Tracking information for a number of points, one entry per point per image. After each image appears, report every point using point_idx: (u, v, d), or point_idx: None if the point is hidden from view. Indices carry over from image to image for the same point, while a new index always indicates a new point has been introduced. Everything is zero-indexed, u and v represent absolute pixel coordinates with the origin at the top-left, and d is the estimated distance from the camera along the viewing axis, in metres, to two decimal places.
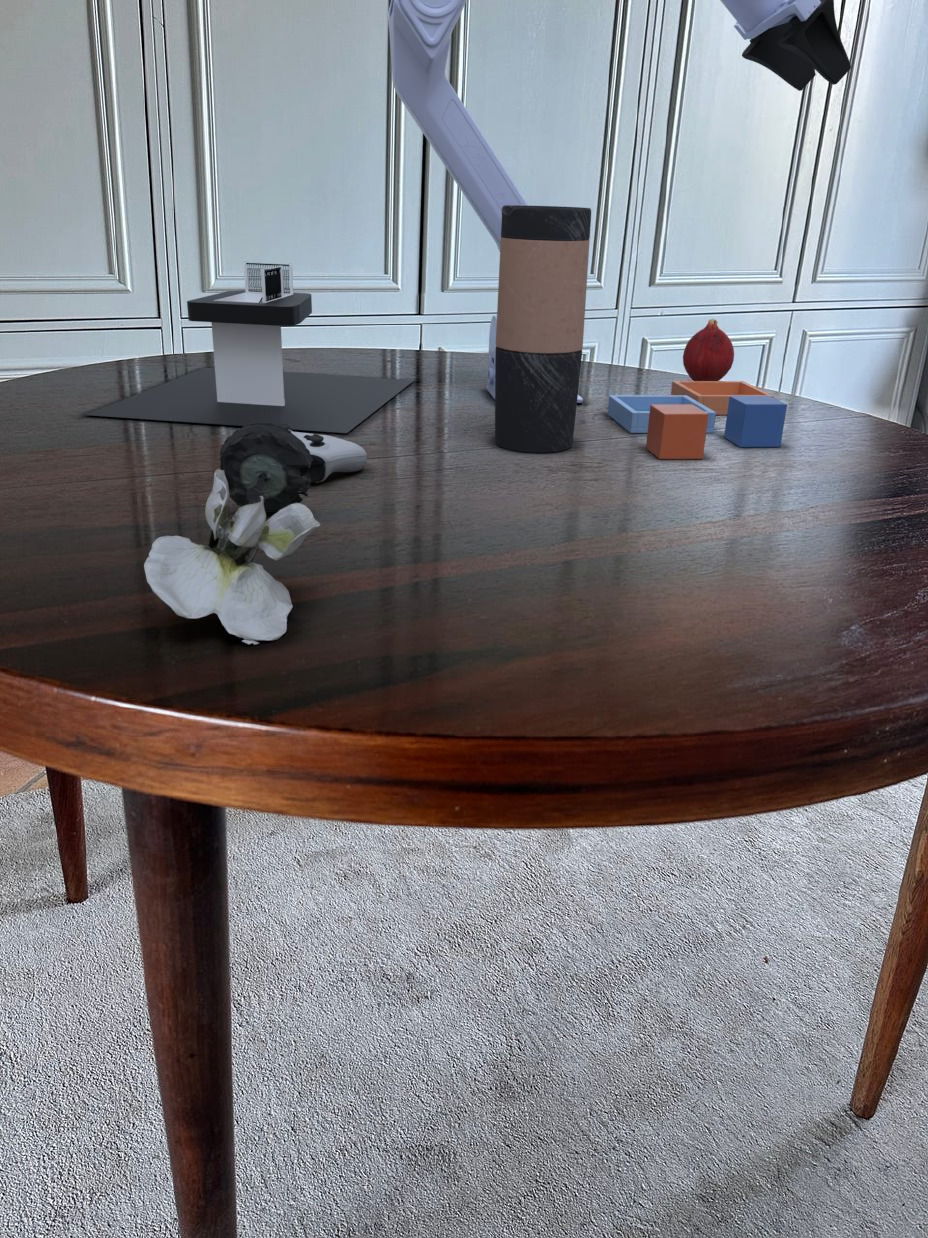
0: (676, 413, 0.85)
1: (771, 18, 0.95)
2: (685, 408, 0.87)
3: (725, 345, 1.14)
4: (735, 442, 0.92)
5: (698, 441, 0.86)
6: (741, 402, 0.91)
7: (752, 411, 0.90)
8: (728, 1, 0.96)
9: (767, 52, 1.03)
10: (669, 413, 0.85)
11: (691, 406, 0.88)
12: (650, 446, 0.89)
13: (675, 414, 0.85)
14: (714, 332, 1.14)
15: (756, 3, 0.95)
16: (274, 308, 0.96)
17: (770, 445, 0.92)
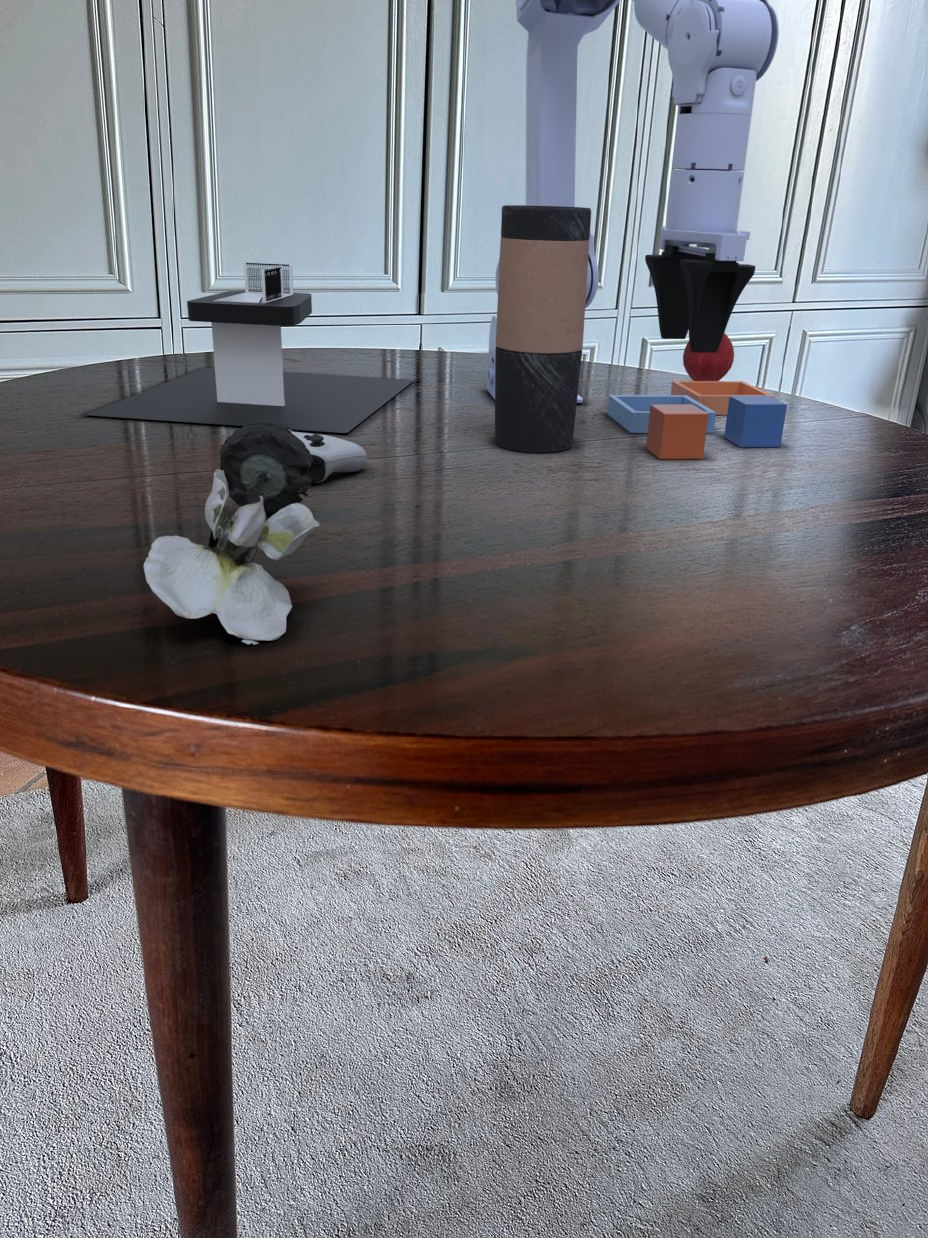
0: (676, 413, 0.85)
1: (694, 233, 0.77)
2: (685, 408, 0.87)
3: (725, 345, 1.14)
4: (735, 442, 0.92)
5: (698, 441, 0.86)
6: (741, 402, 0.91)
7: (752, 411, 0.90)
8: (675, 182, 0.79)
9: (666, 274, 0.86)
10: (669, 413, 0.85)
11: (691, 406, 0.88)
12: (650, 446, 0.89)
13: (675, 414, 0.85)
14: None
15: (695, 208, 0.78)
16: (274, 308, 0.96)
17: (770, 445, 0.92)
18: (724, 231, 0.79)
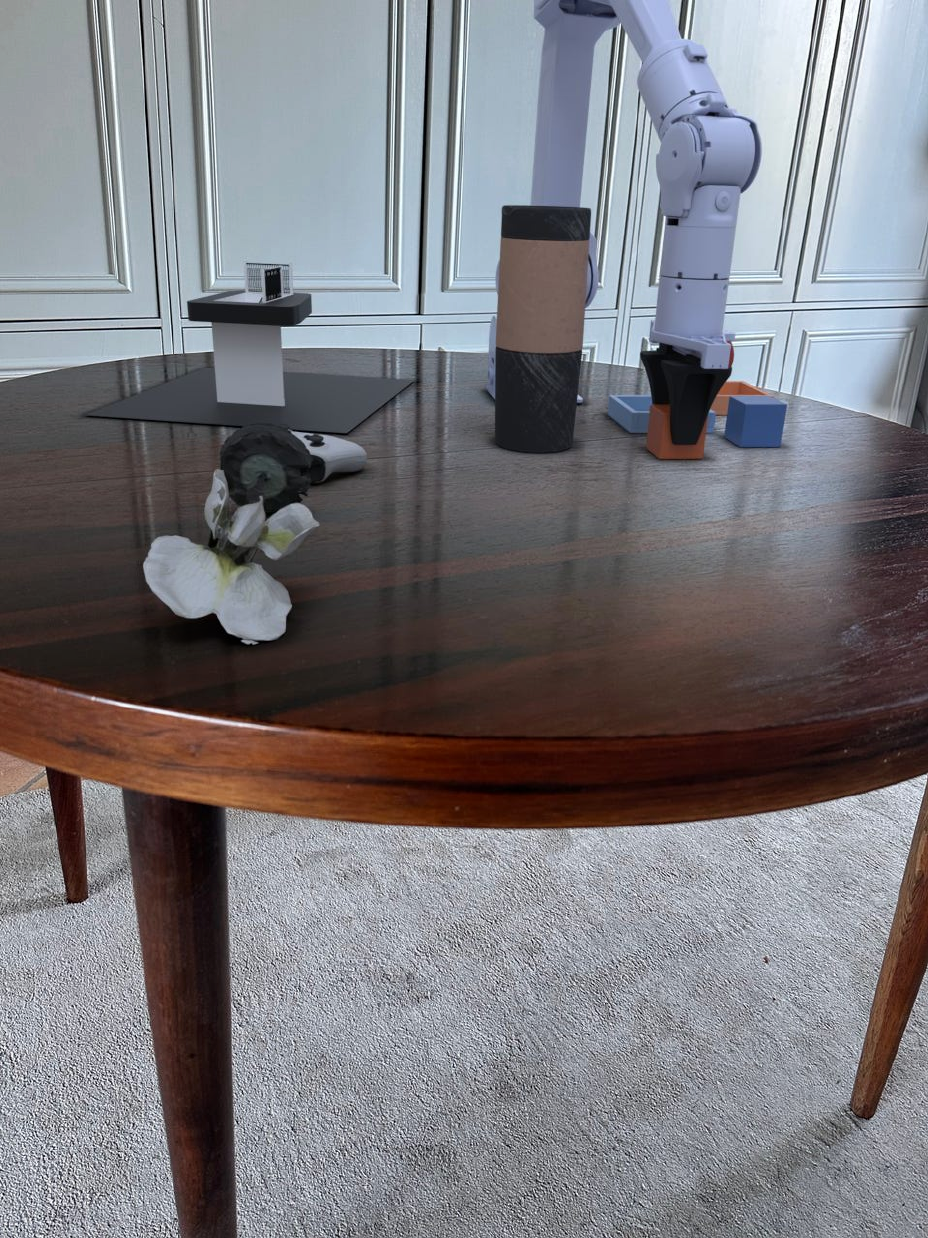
0: None
1: (681, 339, 0.81)
2: None
3: None
4: (735, 442, 0.92)
5: None
6: (741, 402, 0.91)
7: (752, 411, 0.90)
8: (663, 288, 0.82)
9: (660, 371, 0.88)
10: (669, 413, 0.85)
11: None
12: (650, 446, 0.89)
13: None
14: None
15: (681, 314, 0.81)
16: (274, 308, 0.96)
17: (770, 445, 0.92)
18: (710, 335, 0.82)
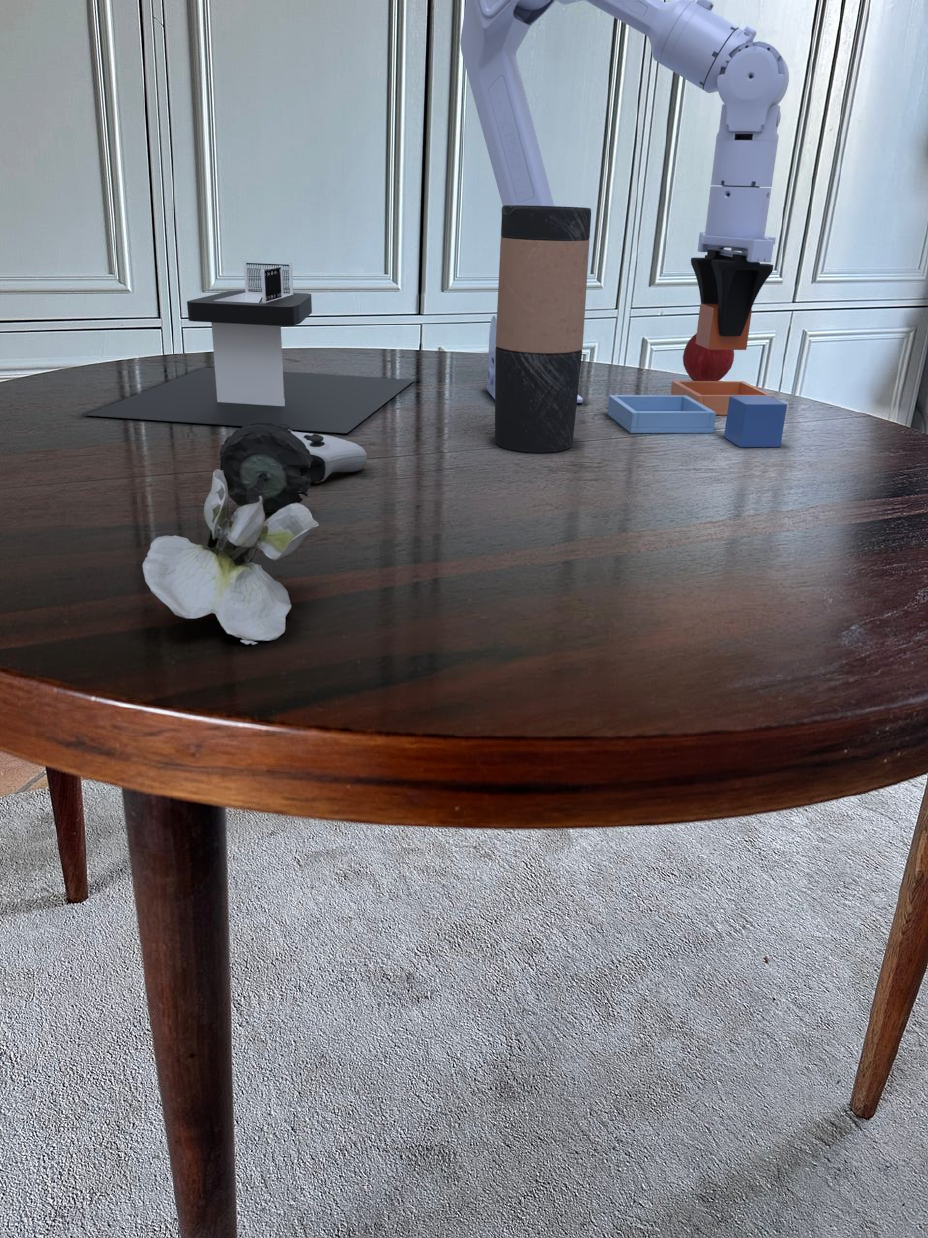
0: None
1: (730, 238, 0.93)
2: None
3: None
4: (735, 442, 0.92)
5: (742, 333, 0.99)
6: (741, 402, 0.91)
7: (752, 411, 0.90)
8: (714, 196, 0.95)
9: (709, 274, 1.00)
10: None
11: None
12: (700, 340, 1.01)
13: None
14: None
15: (730, 218, 0.94)
16: (274, 308, 0.96)
17: (770, 445, 0.92)
18: (754, 237, 0.95)
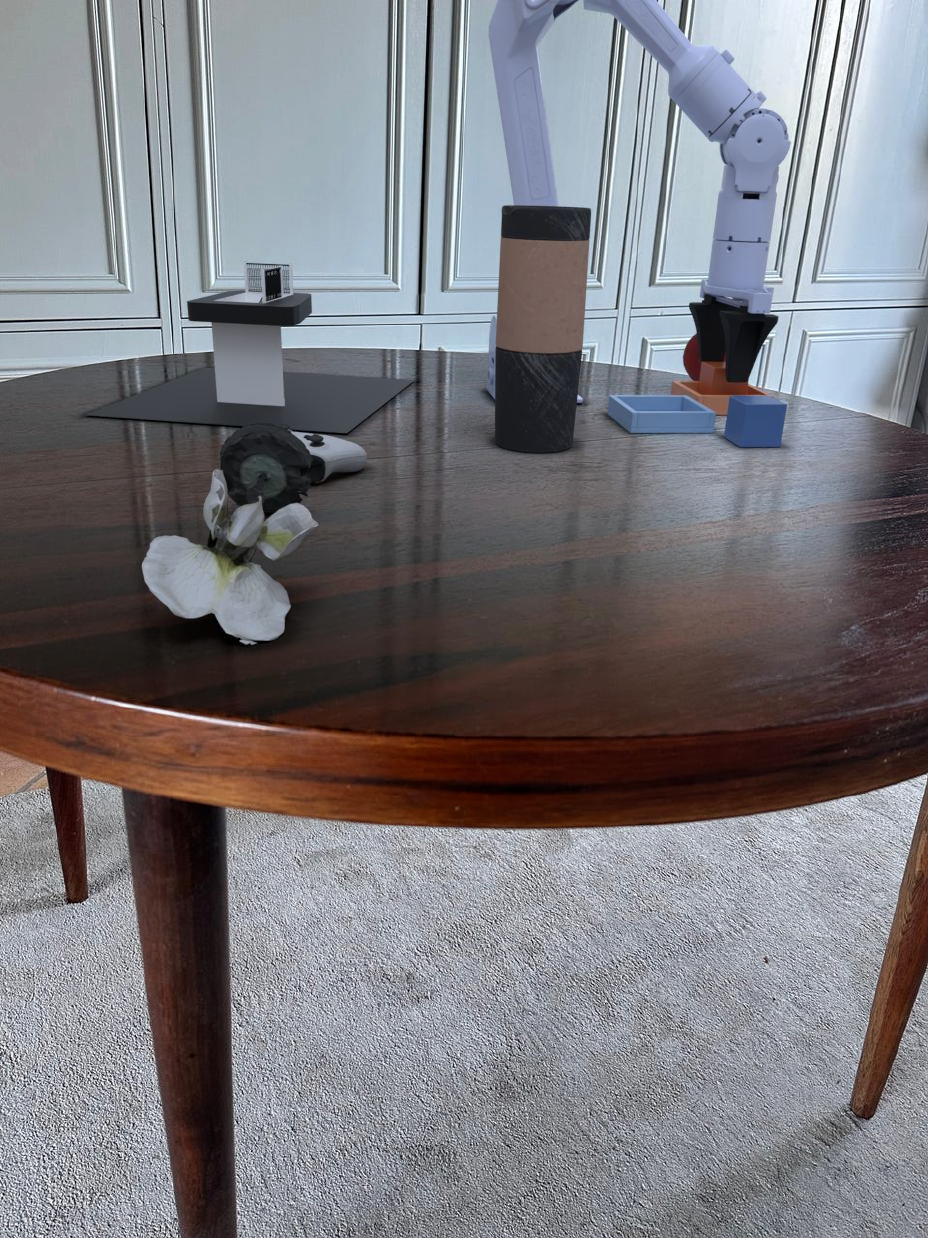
0: (724, 367, 1.05)
1: (731, 290, 1.00)
2: None
3: None
4: (735, 442, 0.92)
5: (741, 390, 1.06)
6: (741, 402, 0.91)
7: (752, 411, 0.90)
8: (716, 250, 1.01)
9: (705, 318, 1.08)
10: (718, 367, 1.05)
11: None
12: None
13: (723, 368, 1.05)
14: None
15: (731, 271, 1.00)
16: (274, 308, 0.96)
17: (770, 445, 0.92)
18: (754, 288, 1.01)
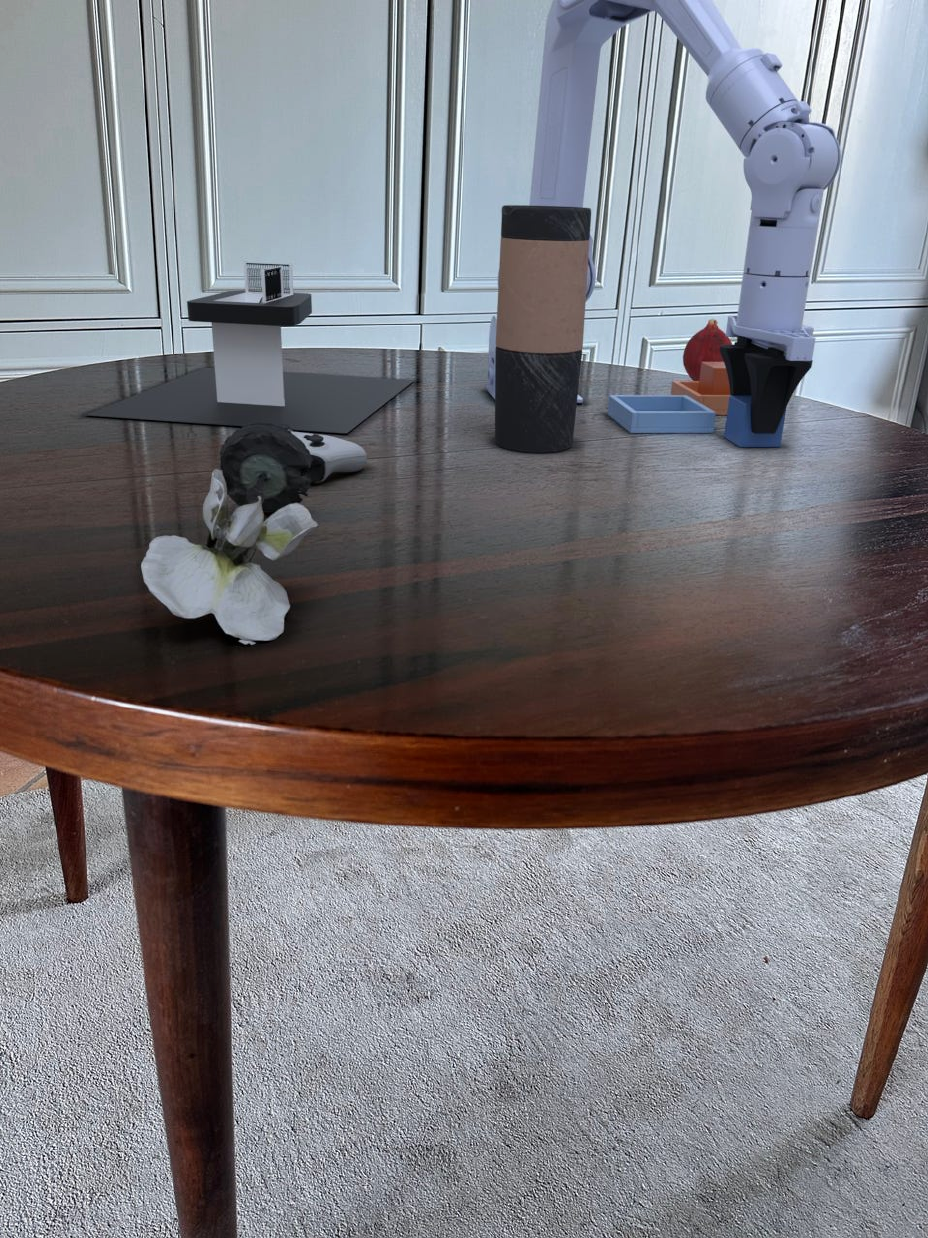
0: (724, 367, 1.05)
1: (766, 333, 0.85)
2: None
3: None
4: (735, 442, 0.92)
5: None
6: (741, 402, 0.91)
7: None
8: (747, 285, 0.87)
9: (739, 364, 0.92)
10: (718, 367, 1.05)
11: None
12: None
13: (723, 368, 1.05)
14: (714, 332, 1.14)
15: (765, 310, 0.86)
16: (274, 309, 0.96)
17: (770, 445, 0.92)
18: (791, 330, 0.87)
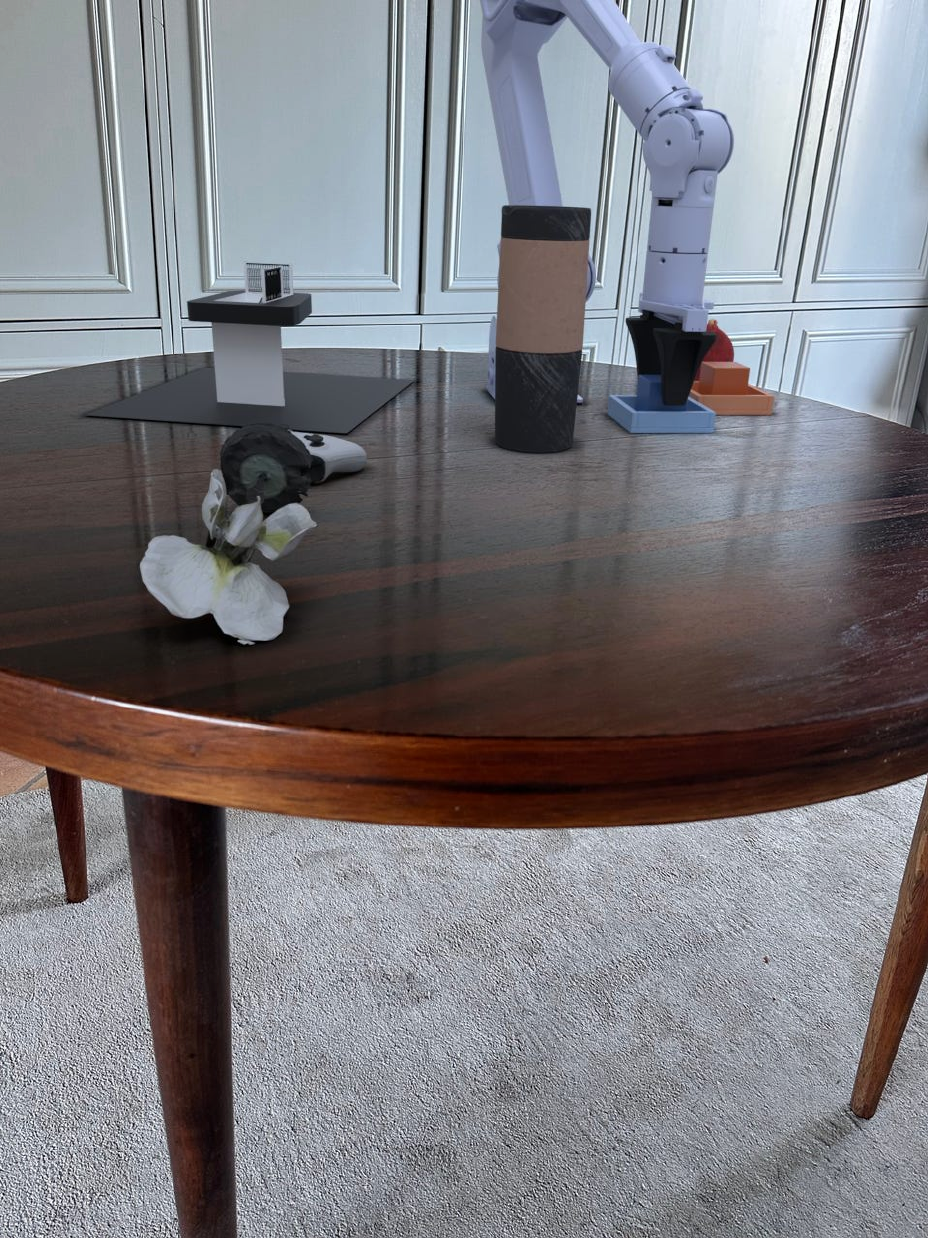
0: (724, 367, 1.05)
1: (665, 306, 0.91)
2: (730, 364, 1.07)
3: (725, 345, 1.14)
4: None
5: (741, 390, 1.06)
6: (647, 380, 0.97)
7: (657, 389, 0.96)
8: (649, 262, 0.93)
9: (643, 335, 1.00)
10: (718, 367, 1.05)
11: (735, 363, 1.08)
12: None
13: (723, 368, 1.05)
14: (714, 332, 1.14)
15: (666, 285, 0.92)
16: (274, 308, 0.96)
17: None
18: (691, 303, 0.93)
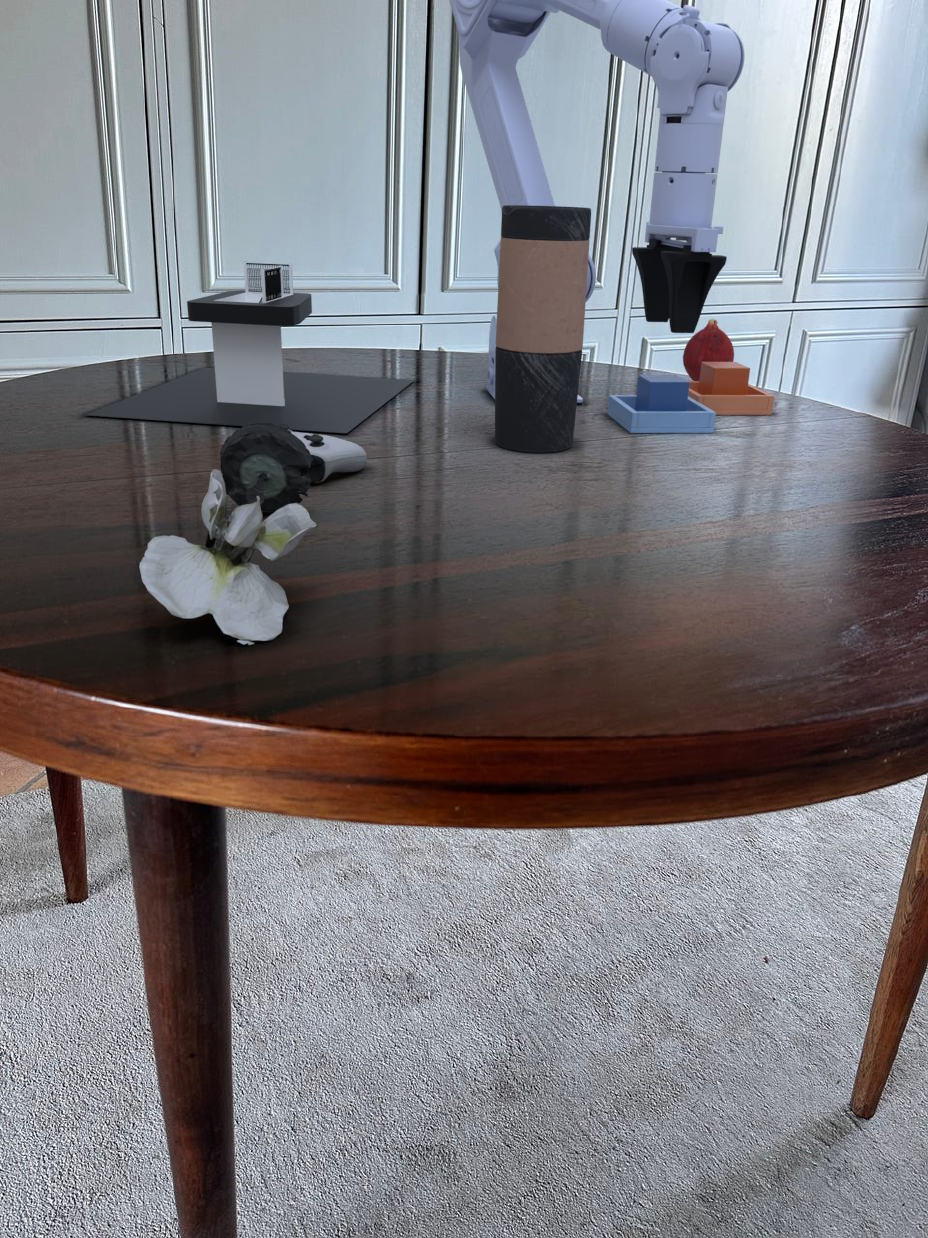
0: (724, 367, 1.05)
1: (673, 227, 0.89)
2: (730, 364, 1.07)
3: (725, 345, 1.14)
4: None
5: (741, 390, 1.06)
6: (647, 380, 0.97)
7: (657, 389, 0.96)
8: (657, 183, 0.90)
9: (650, 264, 0.97)
10: (718, 367, 1.05)
11: (735, 363, 1.08)
12: None
13: (723, 368, 1.05)
14: (714, 332, 1.14)
15: (674, 206, 0.89)
16: (274, 308, 0.96)
17: None
18: (700, 226, 0.90)
